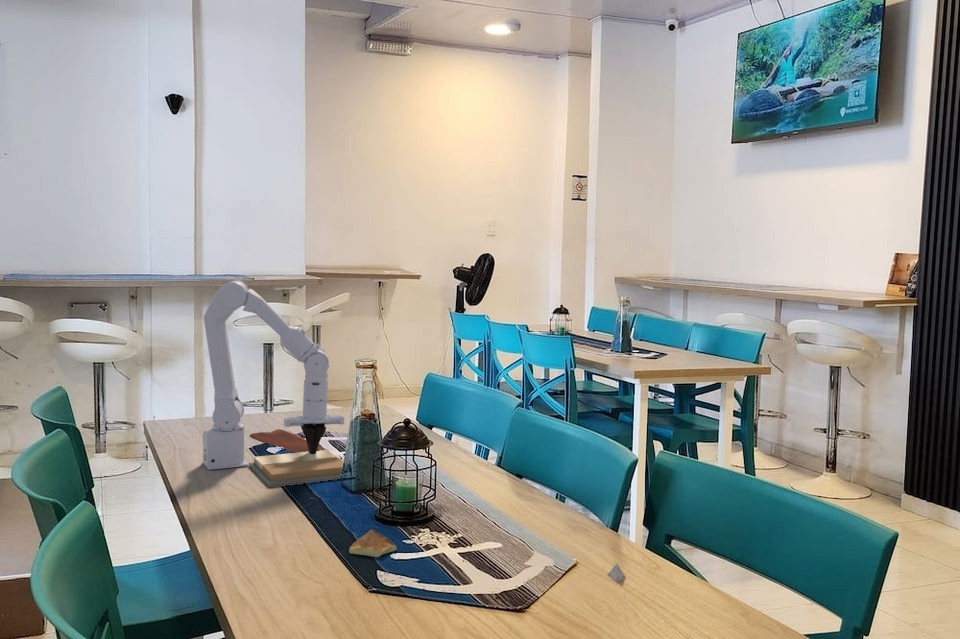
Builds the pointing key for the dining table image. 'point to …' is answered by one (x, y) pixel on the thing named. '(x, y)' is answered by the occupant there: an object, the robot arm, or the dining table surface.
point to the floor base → (293, 481)
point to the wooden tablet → (283, 440)
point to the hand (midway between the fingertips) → (313, 454)
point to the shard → (372, 545)
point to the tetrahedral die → (616, 573)
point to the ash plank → (292, 458)
